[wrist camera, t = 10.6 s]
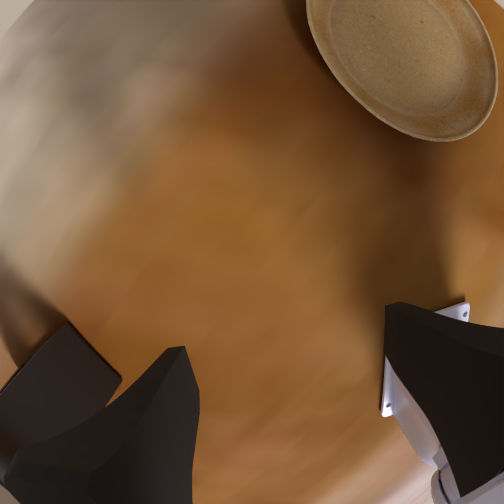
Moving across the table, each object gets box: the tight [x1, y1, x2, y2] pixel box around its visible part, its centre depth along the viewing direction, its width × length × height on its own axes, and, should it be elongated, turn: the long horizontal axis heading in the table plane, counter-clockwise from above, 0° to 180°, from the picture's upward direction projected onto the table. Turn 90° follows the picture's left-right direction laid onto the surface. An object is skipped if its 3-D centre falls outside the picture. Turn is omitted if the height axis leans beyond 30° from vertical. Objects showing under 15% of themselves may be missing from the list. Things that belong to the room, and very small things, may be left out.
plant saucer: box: [306, 0, 498, 142], centre depth 15 cm, size 15×15×3 cm
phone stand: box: [0, 322, 122, 491], centre depth 15 cm, size 9×6×12 cm, turn 126°
